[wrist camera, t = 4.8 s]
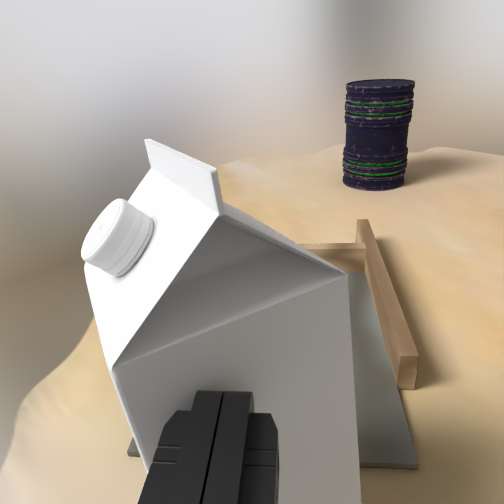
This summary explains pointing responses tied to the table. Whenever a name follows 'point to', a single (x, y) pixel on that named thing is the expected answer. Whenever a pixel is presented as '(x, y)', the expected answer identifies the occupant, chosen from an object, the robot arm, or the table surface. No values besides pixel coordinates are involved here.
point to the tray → (373, 352)
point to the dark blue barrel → (377, 133)
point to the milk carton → (224, 323)
